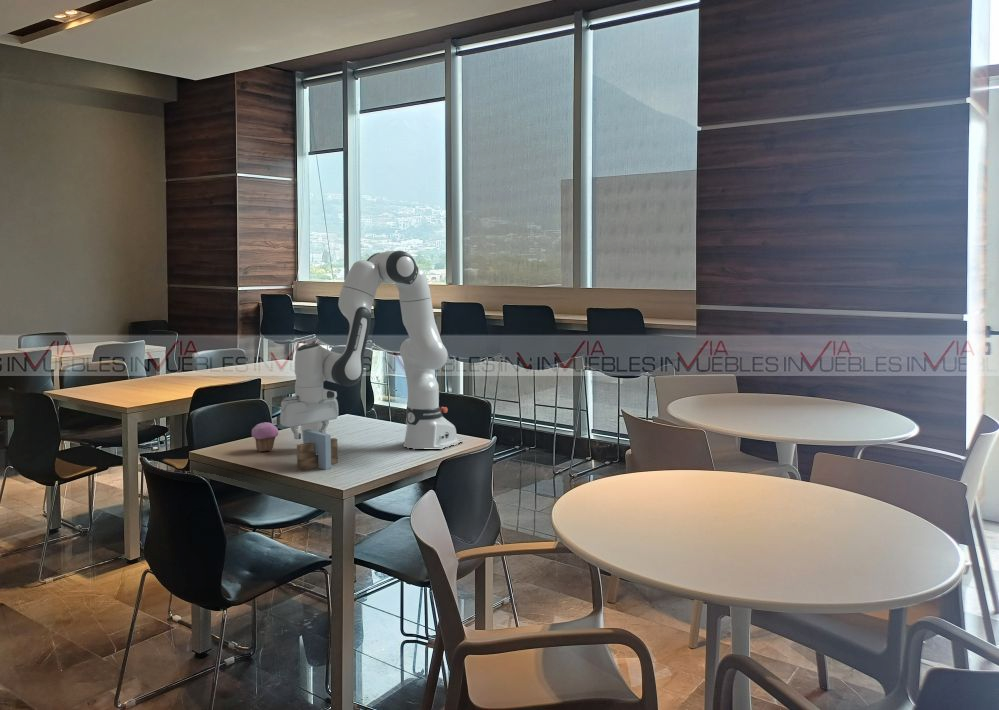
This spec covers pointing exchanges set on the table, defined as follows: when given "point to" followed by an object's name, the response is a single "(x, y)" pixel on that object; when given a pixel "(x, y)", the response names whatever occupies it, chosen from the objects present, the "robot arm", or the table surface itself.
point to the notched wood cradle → (308, 458)
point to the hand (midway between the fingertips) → (310, 436)
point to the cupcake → (264, 436)
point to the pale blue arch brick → (320, 447)
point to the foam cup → (311, 427)
